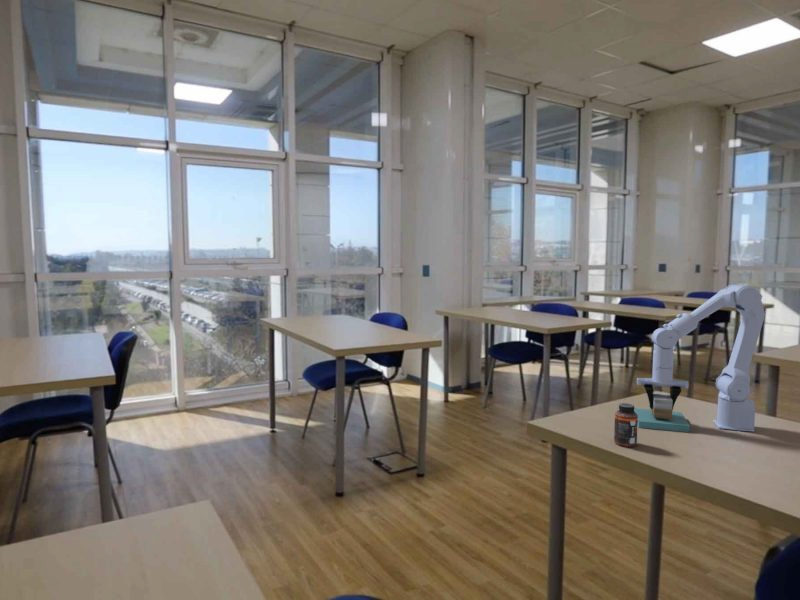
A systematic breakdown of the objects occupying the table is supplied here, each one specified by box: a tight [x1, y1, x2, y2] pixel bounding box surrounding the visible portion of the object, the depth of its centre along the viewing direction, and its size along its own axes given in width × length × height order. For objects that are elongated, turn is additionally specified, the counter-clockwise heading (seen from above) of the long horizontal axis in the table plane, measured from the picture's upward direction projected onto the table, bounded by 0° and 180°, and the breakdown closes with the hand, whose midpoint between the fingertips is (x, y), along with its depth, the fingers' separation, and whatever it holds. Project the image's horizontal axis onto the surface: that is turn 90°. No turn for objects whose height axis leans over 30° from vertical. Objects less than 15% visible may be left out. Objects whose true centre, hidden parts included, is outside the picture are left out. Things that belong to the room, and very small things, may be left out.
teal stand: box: [634, 407, 691, 433], centre depth 165 cm, size 14×14×2 cm
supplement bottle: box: [613, 402, 638, 448], centre depth 147 cm, size 6×6×11 cm
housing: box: [650, 391, 673, 419], centre depth 164 cm, size 8×5×6 cm, turn 161°
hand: (661, 408), depth 164 cm, fingers closed on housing, 5 cm apart
